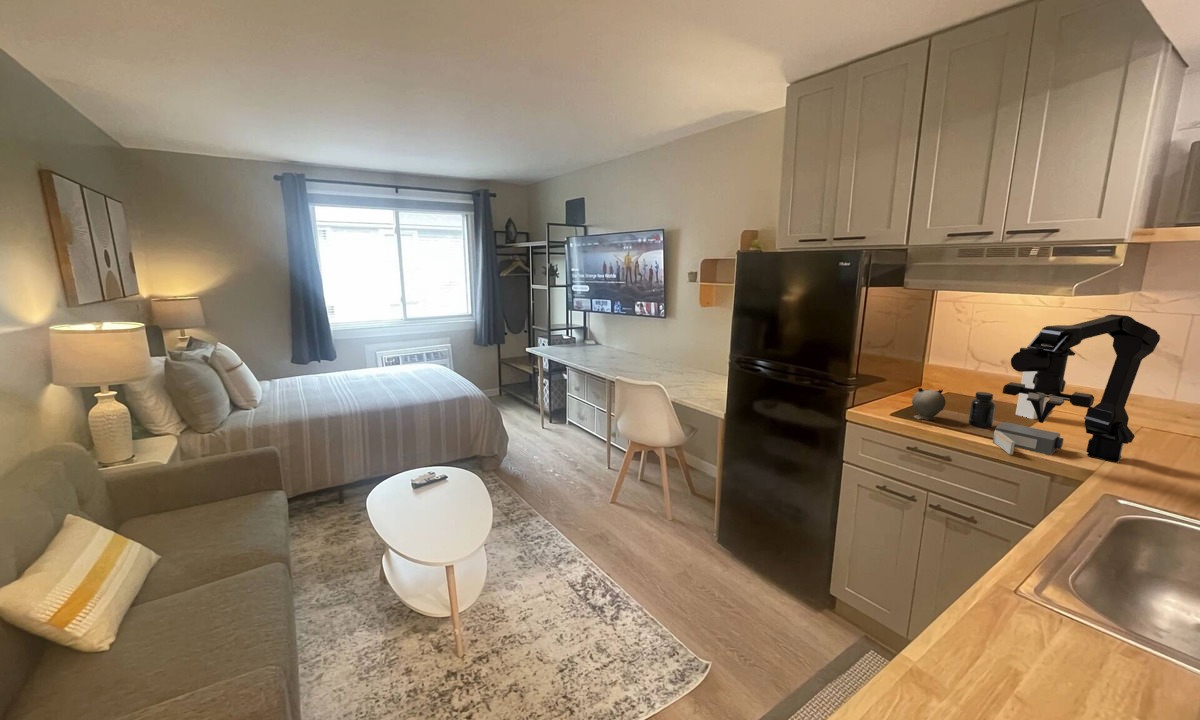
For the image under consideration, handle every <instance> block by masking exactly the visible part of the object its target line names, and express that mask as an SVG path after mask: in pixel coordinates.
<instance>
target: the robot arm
mask: <svg viewBox="0 0 1200 720" xmlns="http://www.w3.org/2000/svg"><path fill="white" fill-rule="evenodd" d="M1102 335H1108V336H1110V337H1111V338H1112V339H1113V342H1112V348H1113V350H1114V352H1115V355H1116V357H1115V360H1114V363H1113V366H1112V369H1111V371H1110V374H1109V377H1108V380H1107V383H1106V386H1105V387H1104V391H1103V394H1102V396H1101V399H1100V402H1099V403H1098V404H1097V403H1096V405H1094V401H1095V397H1094V395H1093V394H1090V393H1084V392H1077V391H1075V392H1073V393H1072V394H1069V393H1064V392H1065V391H1064V390H1065V387H1066V384H1067V382H1066V380H1065V373H1066V368H1067V363H1068V362H1067V361H1068V357H1069V356H1071V357H1072V356H1075V355H1076V352H1075V351H1073V350H1072V348H1073V347H1076V346H1078V345H1080V344H1081V343H1082V341H1083V340H1086V339H1089V338H1093V337H1098V336H1102ZM1160 340H1161V336H1160V334H1159V333H1158V331H1157V330H1156V329H1154V328H1151V327H1150V326H1148V325H1146V324H1144V323H1141V322H1139V321H1138V320H1137V321H1136V319H1134V318H1133V317H1131V316H1129V315H1122V314H1115V313H1113V314H1108V315H1105V316H1103V317H1098V318H1095V319H1089V320H1088V321H1084V322H1083V321H1082V322H1079V323H1076V324H1069V325H1066V324H1064V325H1063V324H1062V325H1061V324H1060V325H1059V324H1057V325H1047V326H1044V327H1042V329H1041V330H1040V331H1039V332H1038V334H1037V335H1036V336H1035V337H1034V338H1033V339H1032V341H1031V342H1030V343H1029V344H1028V345H1027V347H1020V348H1019V351H1018V352H1016V353H1014V354H1013V356H1012V357H1011V358H1010V365H1011V367H1012V369H1013V370H1015V371H1017V372H1019V373H1023V372H1032V371H1037V374H1035V376H1034V379H1033V384H1035V386H1034V389H1032V388H1026V387H1025V384H1021V382H1020V383H1018V382H1009V383H1007V384H1004V385H1003V387H1002V394H1003V395H1010V396H1016V395H1019V393H1023V394H1028V398H1027V400H1028V401H1031V403H1032V405H1033V407H1034V409H1035V412H1036V415H1037V418H1038V419H1037V420H1038V423H1040V424H1043V423H1044V422H1045V421H1046V419H1047V418H1048V417H1049V415H1050V414H1051V412H1052V411H1053V410H1054V409H1055V407H1056V406H1057V407H1060V406H1062V405H1063V404H1064V403H1065V401H1066V402H1069V403H1070V404H1071V405H1072V406H1075V407H1080V408H1086V409H1087V410H1086V414H1085V416H1084V417H1083V419H1084V425H1085V426H1084V427H1085V433H1086V434H1090V435H1092V436H1091V438H1089V440H1088V443H1087V448H1086V453H1087V454H1086V456H1087V457H1091V458H1094V459H1099V460H1104V461H1109V462H1114V463H1119V462H1120V460H1121V459H1122V451H1123V447H1124V444H1125V445H1128V444H1129V443H1133V441H1134V438H1135V436H1136V435H1135V434H1134V433H1133V432H1132V430H1131V429H1130V428H1129V426H1128V424H1129V416H1128V413H1127V411H1126V408H1125V407H1126V404H1127V401H1128V398H1129V396H1130V393H1131V390H1132V388H1133V385H1134V382H1135V379H1136V377H1137V374H1138V371H1139V368H1140V366H1141V363H1142V360H1144V359H1146V357H1148V356H1149V355H1151V354H1152V353H1154V351H1155V349H1156V348H1157V345H1158V344H1159V342H1160ZM1042 393H1044V394H1042ZM1045 397H1048V398H1047V399H1048V400H1047V402H1046V405H1045V408H1044V411H1043V403H1044V398H1045ZM1093 405H1094V406H1093Z"/></svg>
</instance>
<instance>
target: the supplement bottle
mask: <svg viewBox="0 0 1200 720" xmlns="http://www.w3.org/2000/svg"><path fill="white" fill-rule="evenodd" d="M974 397H975V399H972V401H971V402H970V410H969V417H968V425H970V426H972V427H976V428H980V429H990V428H992V427H993V425H994V417H995V410H996V403H995V401H993V400H994V398H993V397H994V395H993V393H991V392H986V391H976V393H975V396H974Z"/></svg>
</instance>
